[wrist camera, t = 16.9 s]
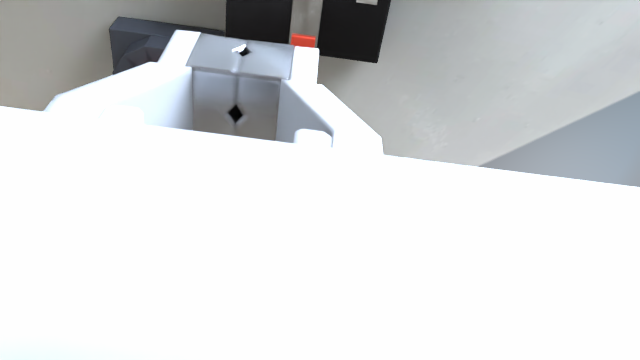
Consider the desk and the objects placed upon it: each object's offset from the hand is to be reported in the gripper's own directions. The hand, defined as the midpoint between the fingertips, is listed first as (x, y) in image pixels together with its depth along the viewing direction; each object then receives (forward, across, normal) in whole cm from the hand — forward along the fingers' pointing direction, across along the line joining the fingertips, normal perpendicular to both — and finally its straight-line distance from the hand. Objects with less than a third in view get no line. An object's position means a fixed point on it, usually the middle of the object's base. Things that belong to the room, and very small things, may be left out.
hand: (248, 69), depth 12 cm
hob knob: (+26, -1, +8) cm, 27 cm away
